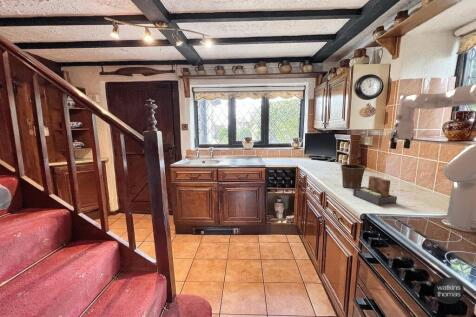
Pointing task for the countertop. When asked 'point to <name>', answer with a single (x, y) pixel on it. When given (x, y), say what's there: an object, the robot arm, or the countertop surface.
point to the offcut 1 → (365, 191)
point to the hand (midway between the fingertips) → (399, 148)
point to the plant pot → (352, 175)
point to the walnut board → (379, 185)
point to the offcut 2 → (375, 194)
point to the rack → (374, 198)
